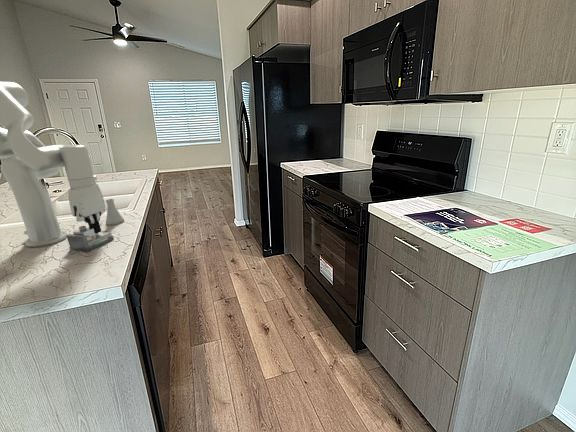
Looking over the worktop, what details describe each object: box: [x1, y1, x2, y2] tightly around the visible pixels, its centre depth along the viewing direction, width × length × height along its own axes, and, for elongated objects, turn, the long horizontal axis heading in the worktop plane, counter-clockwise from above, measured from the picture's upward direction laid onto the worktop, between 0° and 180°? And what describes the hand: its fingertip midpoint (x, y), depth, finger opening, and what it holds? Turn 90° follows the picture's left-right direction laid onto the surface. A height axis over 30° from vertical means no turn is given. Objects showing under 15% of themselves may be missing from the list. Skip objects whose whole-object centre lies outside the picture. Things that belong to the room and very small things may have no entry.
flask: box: [105, 198, 125, 226], centre depth 130 cm, size 7×7×10 cm
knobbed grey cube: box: [72, 225, 96, 242], centre depth 107 cm, size 4×6×6 cm, turn 74°
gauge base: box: [66, 231, 115, 253], centre depth 109 cm, size 11×8×6 cm
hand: (96, 232), depth 111 cm, fingers closed
